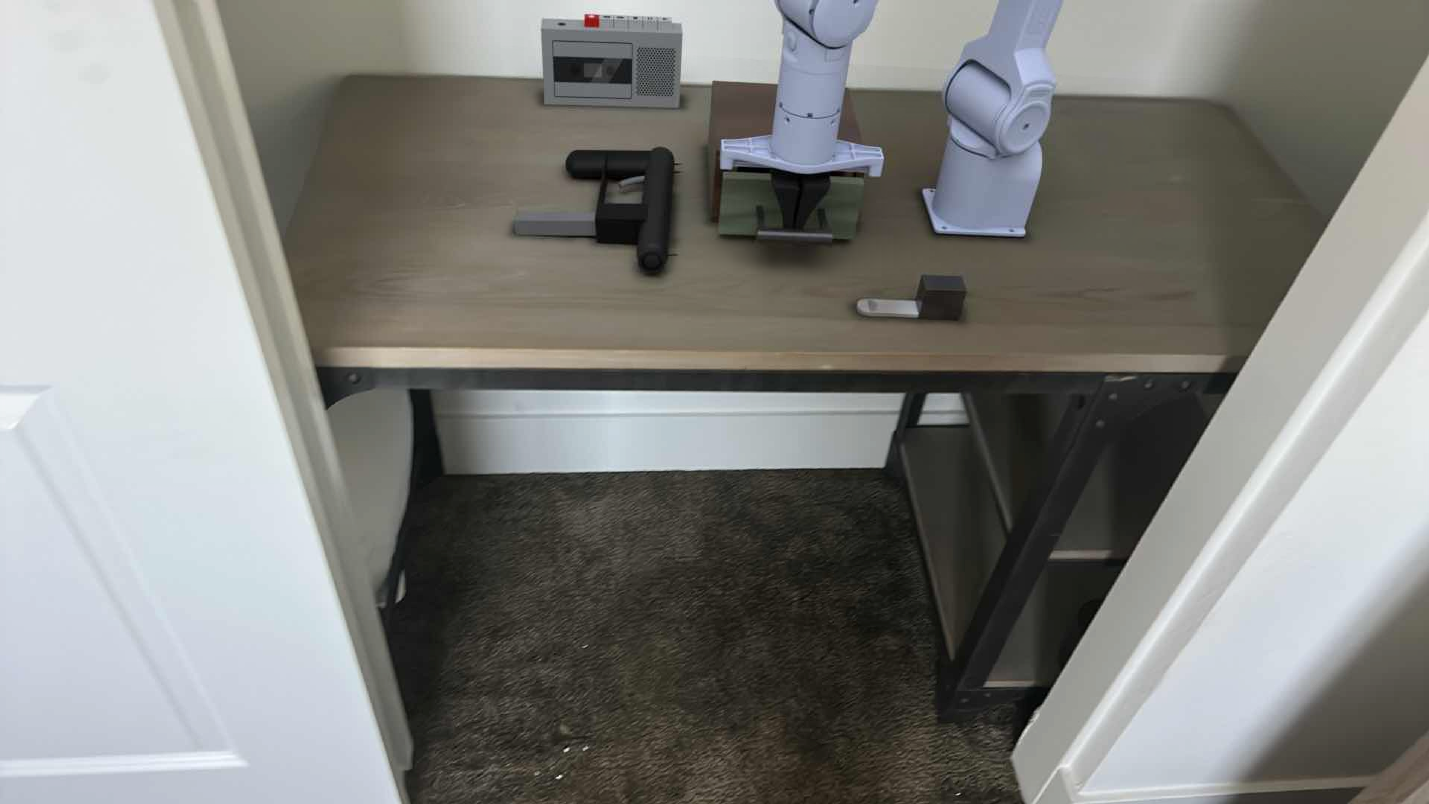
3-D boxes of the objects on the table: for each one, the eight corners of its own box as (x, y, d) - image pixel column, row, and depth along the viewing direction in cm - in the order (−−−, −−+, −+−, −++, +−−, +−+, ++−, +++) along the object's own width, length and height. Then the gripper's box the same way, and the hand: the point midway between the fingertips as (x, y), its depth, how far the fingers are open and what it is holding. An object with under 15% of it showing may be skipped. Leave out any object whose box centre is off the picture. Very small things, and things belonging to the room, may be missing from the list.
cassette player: (544, 104, 120) (540, 19, 113) (545, 93, 122) (541, 9, 115) (679, 107, 122) (683, 24, 115) (677, 97, 123) (681, 14, 117)
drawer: (860, 271, 98) (872, 215, 94) (720, 266, 97) (725, 208, 93) (838, 168, 112) (847, 115, 108) (714, 163, 111) (718, 109, 107)
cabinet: (853, 227, 105) (867, 156, 100) (710, 221, 104) (716, 149, 99) (837, 154, 116) (848, 87, 110) (707, 148, 115) (712, 80, 110)
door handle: (503, 248, 94) (679, 250, 94) (532, 140, 109) (685, 141, 109) (507, 278, 97) (679, 279, 97) (536, 168, 111) (685, 169, 111)
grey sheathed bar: (953, 305, 97) (962, 276, 95) (958, 320, 95) (967, 290, 93) (854, 301, 96) (860, 272, 94) (857, 316, 95) (863, 286, 92)
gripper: (885, 86, 93) (860, 215, 102) (723, 77, 92) (713, 208, 101) (897, 124, 88) (869, 256, 97) (726, 115, 87) (715, 250, 96)
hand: (790, 235), depth 99 cm, fingers closed, pressing on drawer
